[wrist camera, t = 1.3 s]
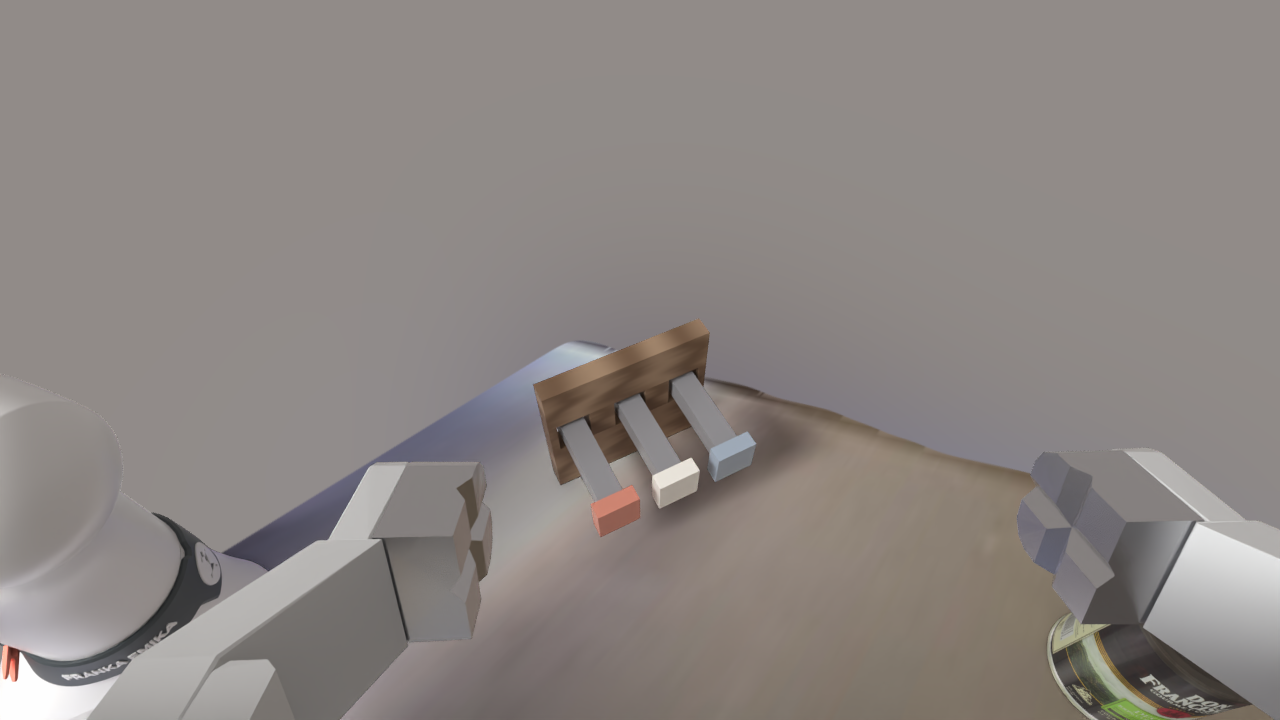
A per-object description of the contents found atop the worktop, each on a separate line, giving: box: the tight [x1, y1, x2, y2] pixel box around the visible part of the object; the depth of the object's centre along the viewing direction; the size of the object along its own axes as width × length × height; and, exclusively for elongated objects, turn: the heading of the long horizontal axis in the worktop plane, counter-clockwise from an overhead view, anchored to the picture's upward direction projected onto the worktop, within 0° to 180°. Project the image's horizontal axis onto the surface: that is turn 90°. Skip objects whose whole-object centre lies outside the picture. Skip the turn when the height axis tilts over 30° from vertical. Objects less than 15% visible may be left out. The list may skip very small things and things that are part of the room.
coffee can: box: [1047, 612, 1252, 720], centre depth 53 cm, size 10×10×14 cm
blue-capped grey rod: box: [669, 371, 756, 482], centre depth 65 cm, size 4×12×4 cm, turn 27°
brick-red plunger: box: [557, 417, 640, 537], centre depth 61 cm, size 4×12×4 cm, turn 27°
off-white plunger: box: [614, 393, 700, 509], centre depth 63 cm, size 4×12×4 cm, turn 27°
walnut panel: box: [533, 319, 710, 485], centre depth 66 cm, size 17×2×16 cm, turn 117°
